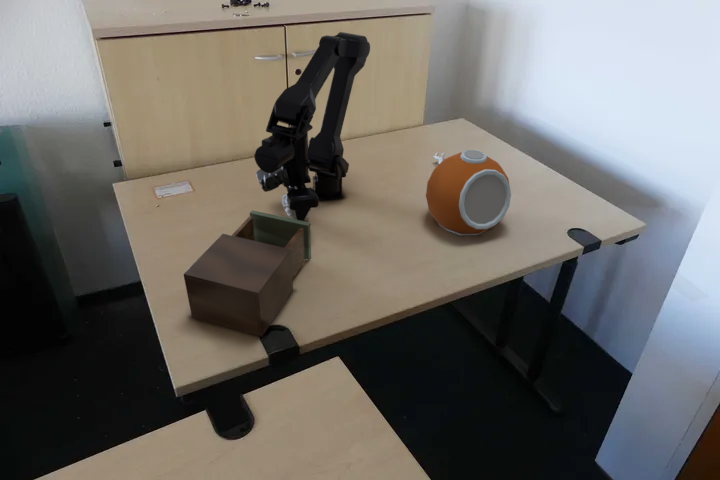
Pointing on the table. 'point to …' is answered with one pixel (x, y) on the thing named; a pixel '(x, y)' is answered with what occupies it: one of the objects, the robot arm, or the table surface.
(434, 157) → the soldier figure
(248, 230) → the drawer
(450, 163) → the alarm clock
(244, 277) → the cabinet
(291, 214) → the white carved sculpture
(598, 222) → the table surface
